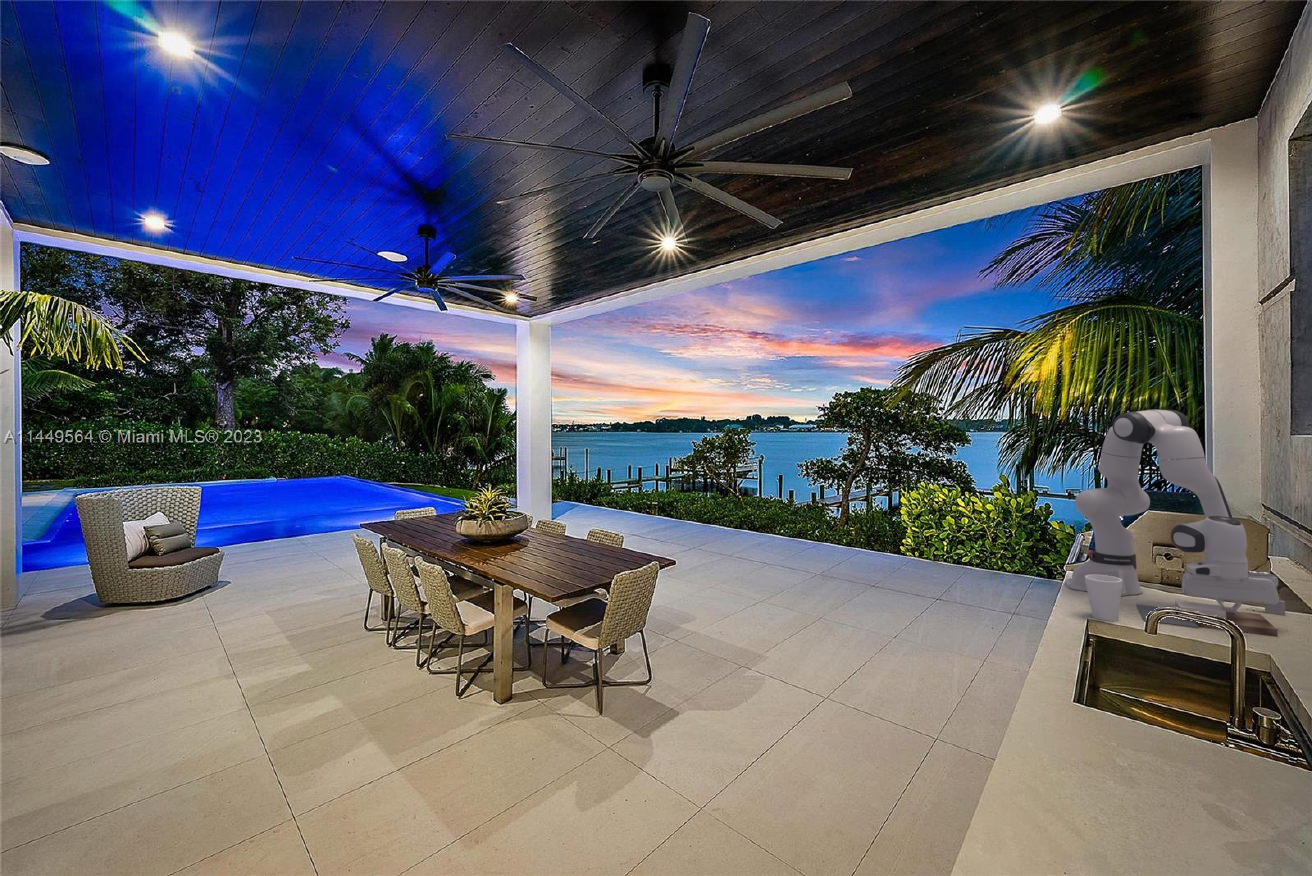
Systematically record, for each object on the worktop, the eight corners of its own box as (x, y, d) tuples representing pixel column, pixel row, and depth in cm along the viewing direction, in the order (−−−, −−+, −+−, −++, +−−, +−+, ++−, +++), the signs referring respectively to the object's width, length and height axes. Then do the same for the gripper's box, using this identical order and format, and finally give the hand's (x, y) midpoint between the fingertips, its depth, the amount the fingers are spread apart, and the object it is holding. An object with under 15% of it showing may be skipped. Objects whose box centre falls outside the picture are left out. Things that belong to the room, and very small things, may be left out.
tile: (1180, 614, 164) (1180, 606, 164) (1175, 608, 170) (1175, 600, 170) (1226, 619, 159) (1225, 611, 159) (1219, 613, 164) (1219, 605, 164)
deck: (1198, 626, 159) (1198, 620, 159) (1188, 612, 171) (1187, 606, 171) (1277, 636, 150) (1277, 629, 150) (1260, 620, 162) (1260, 614, 162)
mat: (1144, 621, 166) (1144, 620, 166) (1136, 605, 180) (1136, 604, 180) (1198, 628, 158) (1198, 626, 158) (1185, 610, 173) (1185, 609, 173)
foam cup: (1113, 624, 165) (1111, 583, 165) (1080, 616, 173) (1078, 577, 173) (1131, 619, 168) (1128, 579, 168) (1097, 611, 177) (1095, 573, 177)
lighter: (1285, 614, 165) (1283, 589, 166) (1285, 615, 164) (1283, 590, 164) (1251, 609, 171) (1250, 585, 171) (1251, 610, 170) (1249, 586, 170)
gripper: (1273, 570, 157) (1276, 616, 157) (1179, 563, 169) (1181, 605, 169) (1281, 575, 152) (1284, 622, 152) (1183, 568, 164) (1186, 611, 164)
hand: (1229, 613), depth 161 cm, fingers closed
